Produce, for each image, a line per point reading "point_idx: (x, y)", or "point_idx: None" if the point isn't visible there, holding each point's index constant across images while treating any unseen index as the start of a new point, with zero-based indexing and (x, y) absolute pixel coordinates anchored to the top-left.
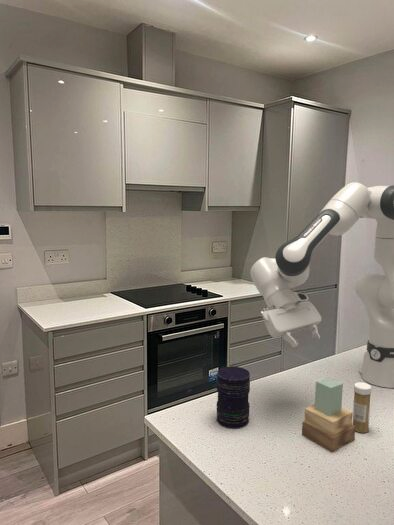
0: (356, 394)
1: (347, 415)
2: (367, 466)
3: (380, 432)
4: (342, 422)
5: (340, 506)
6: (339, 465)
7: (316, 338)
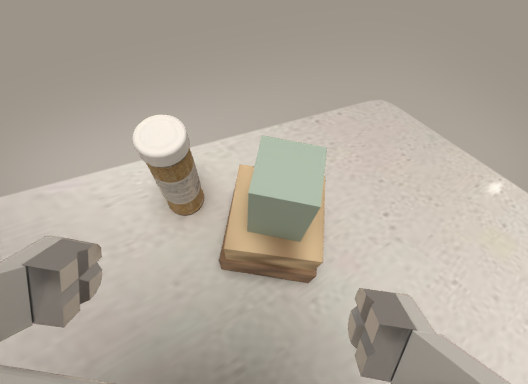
0: (185, 157)
1: None
2: None
3: None
4: None
5: (417, 142)
6: (337, 179)
7: (97, 254)
